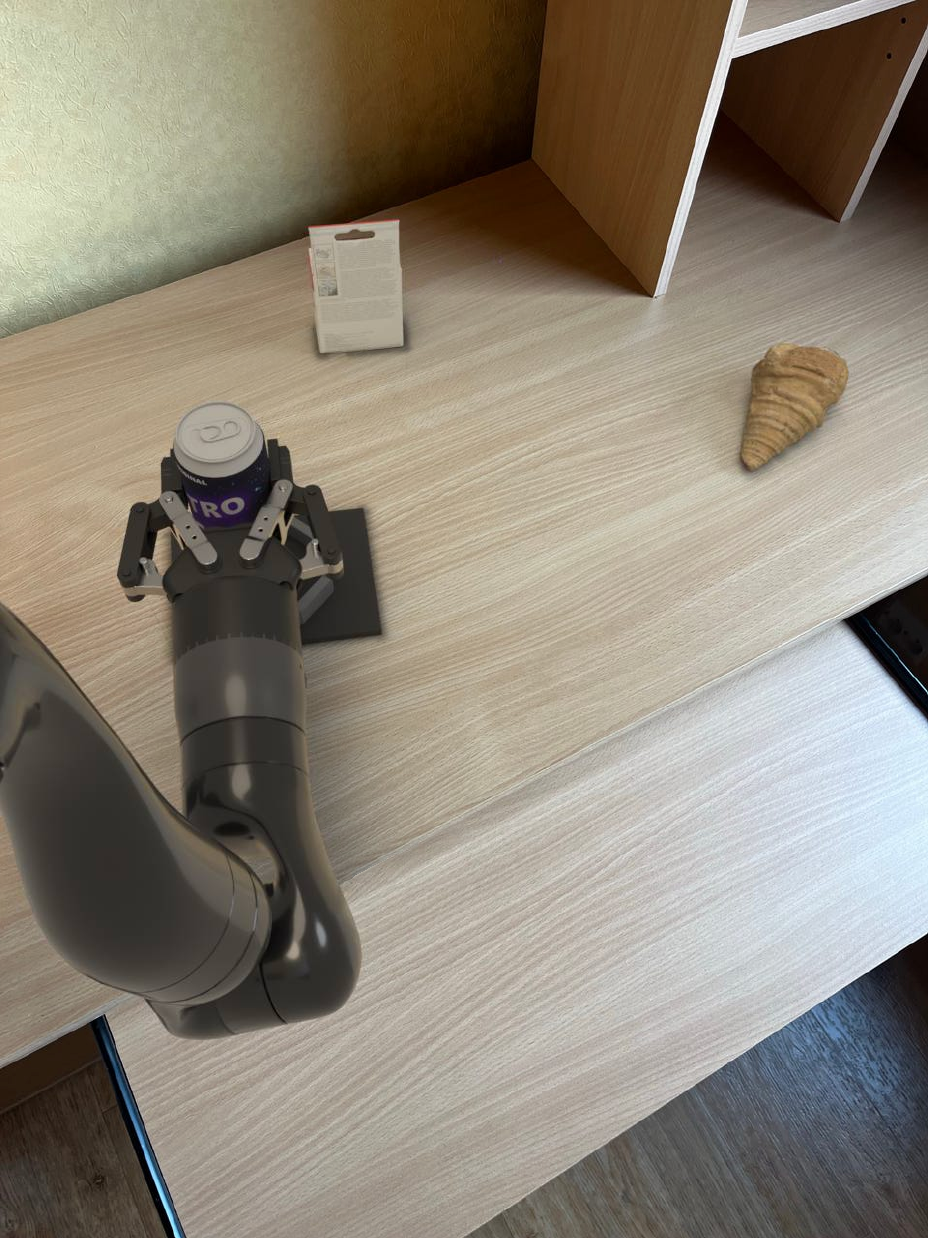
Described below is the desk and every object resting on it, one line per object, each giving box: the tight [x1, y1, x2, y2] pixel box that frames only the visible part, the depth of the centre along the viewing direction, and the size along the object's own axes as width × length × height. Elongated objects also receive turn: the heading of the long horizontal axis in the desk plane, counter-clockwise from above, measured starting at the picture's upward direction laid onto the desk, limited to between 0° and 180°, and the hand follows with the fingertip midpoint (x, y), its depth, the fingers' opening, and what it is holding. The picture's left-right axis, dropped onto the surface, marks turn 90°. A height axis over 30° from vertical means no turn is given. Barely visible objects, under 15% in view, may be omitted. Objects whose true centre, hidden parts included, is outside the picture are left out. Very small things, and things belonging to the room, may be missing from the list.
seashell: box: [739, 342, 850, 472], centre depth 94 cm, size 14×8×8 cm
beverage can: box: [172, 400, 272, 531], centre depth 70 cm, size 6×6×12 cm
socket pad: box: [170, 507, 382, 645], centre depth 85 cm, size 16×12×3 cm
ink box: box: [307, 219, 405, 355], centre depth 94 cm, size 4×8×15 cm, turn 99°
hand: (226, 451), depth 70 cm, fingers closed on beverage can, 5 cm apart
